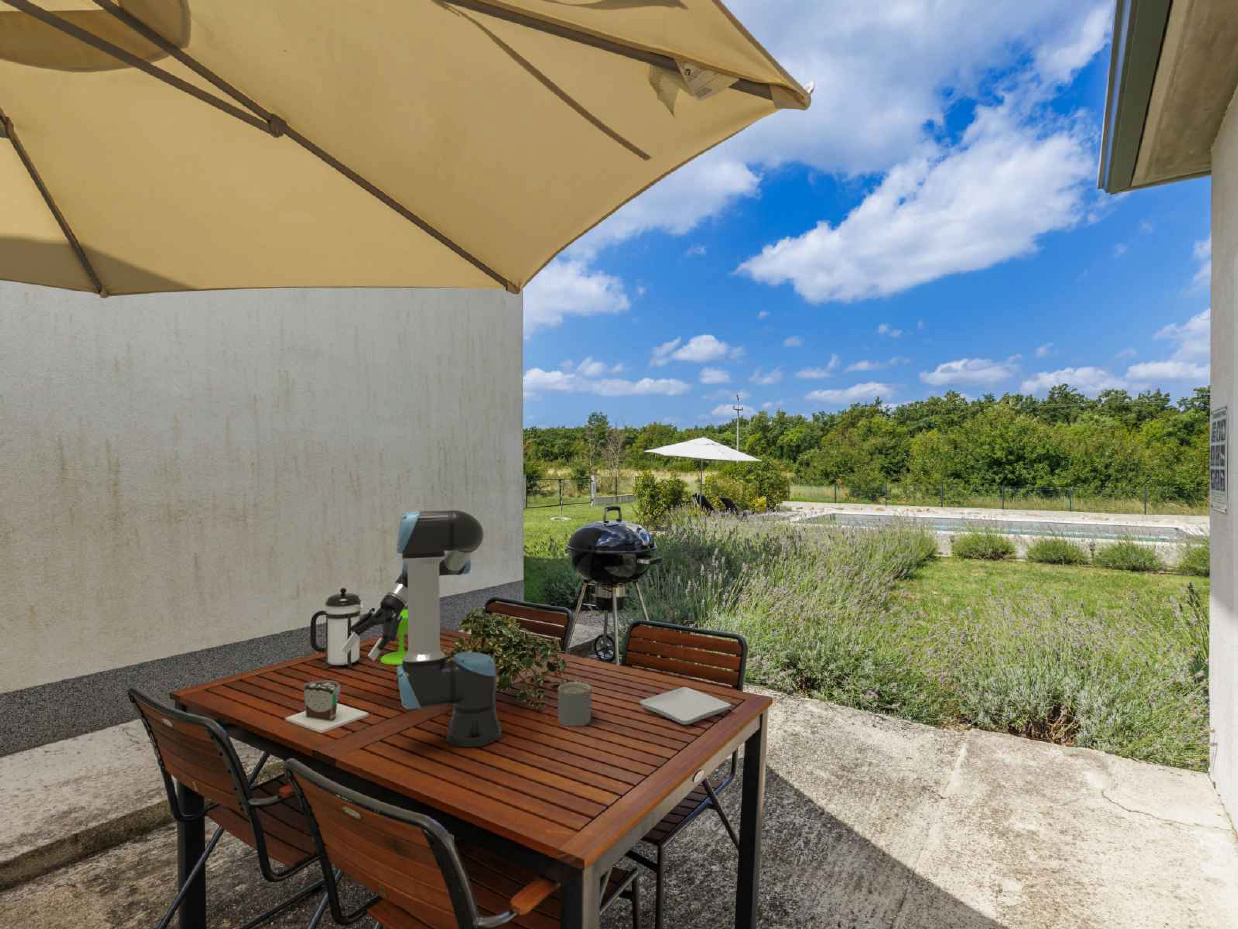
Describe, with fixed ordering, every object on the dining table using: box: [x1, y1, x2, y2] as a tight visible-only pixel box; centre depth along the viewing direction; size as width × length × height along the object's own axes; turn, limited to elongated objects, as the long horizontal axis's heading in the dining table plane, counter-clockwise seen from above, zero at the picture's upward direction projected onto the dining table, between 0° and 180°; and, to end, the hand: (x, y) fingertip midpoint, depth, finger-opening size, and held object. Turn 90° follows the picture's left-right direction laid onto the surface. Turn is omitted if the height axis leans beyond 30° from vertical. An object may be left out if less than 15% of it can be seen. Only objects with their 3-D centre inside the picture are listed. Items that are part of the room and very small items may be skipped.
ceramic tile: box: [284, 702, 370, 734], centre depth 200 cm, size 18×16×1 cm
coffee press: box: [309, 587, 364, 670], centre depth 254 cm, size 17×16×30 cm
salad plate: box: [639, 686, 732, 726], centre depth 206 cm, size 21×21×3 cm
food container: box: [302, 679, 341, 722], centre depth 200 cm, size 12×6×10 cm, turn 71°
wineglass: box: [380, 609, 408, 665], centre depth 263 cm, size 16×16×18 cm
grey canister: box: [557, 681, 592, 728], centre depth 200 cm, size 13×10×10 cm
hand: (357, 655), depth 209 cm, fingers open, 13 cm apart
